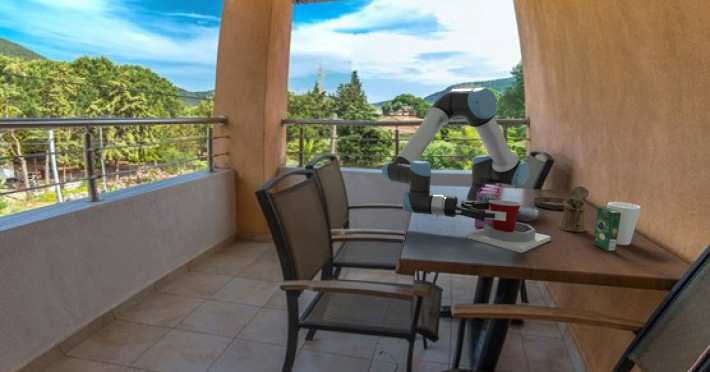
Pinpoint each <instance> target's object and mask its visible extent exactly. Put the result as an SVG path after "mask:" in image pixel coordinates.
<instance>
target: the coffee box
mask: <svg viewBox="0 0 710 372" xmlns="http://www.w3.org/2000/svg"><path fill="white" fill-rule="evenodd" d="M620 217H621V213H620V212H617V211H615V210H612V209H610V208H607V206H598V207H597V213H596V222H595V229H594V237H593V245H595V246H596V247H599V248H601V249H602V250H604V251H606V252H611V253H612V252H616V248H617V247H616V246H617V244H616V242H617V236H618V229H619V223H620Z"/></svg>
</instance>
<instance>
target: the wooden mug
mask: <svg viewBox="0 0 710 372" xmlns="http://www.w3.org/2000/svg"><path fill="white" fill-rule="evenodd" d="M589 194H590V193H589V190H588V189H587V188H585V187H584V186H577V187H575V188H572V189H571V190H570V191H569V197H570V198H567V199H566V203H565V205H564V207H565V208H564V209H563V213H562V215H561V220H560V222H559V224H558V228H559V229H560V230H562V231H566V232H570V233H571V232H572V233H584V232H586V225H585V224H586V222H585V210H586V204H585V201H584V200H585V199H587V198H588V197H589Z"/></svg>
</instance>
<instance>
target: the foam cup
mask: <svg viewBox="0 0 710 372" xmlns="http://www.w3.org/2000/svg"><path fill="white" fill-rule="evenodd" d="M606 207H607V208H610V209H612V210H615V211H617V212H620V213H621V217H620V223H619V229H618V236H617V242H616V245H619V246H620V245H621V246H628V245H630V244H631V242H632V239H633V235H634V232H635V229H636V225H637V222H638V219H639V216H640V215H641V208H642V207H641V206H640V205H638V204H634V203H629V202H621V201H619V202H618V201H612V202H611V201H610V202H607V206H606Z"/></svg>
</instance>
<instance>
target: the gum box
mask: <svg viewBox="0 0 710 372" xmlns="http://www.w3.org/2000/svg"><path fill="white" fill-rule="evenodd" d="M502 194H503V184H498V185H497V184H496V185H488V184H487V183H484V184H483V185H482V187H481V188H480V189H479V191H478V192H477V200H476V201H487V200H502ZM486 210H487V211H491V210H489V209H482V211H486ZM491 221H492V219H484V221H481V220H478V219H474V227H478V228H479V227H480V228H484V223H487V222H491Z"/></svg>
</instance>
